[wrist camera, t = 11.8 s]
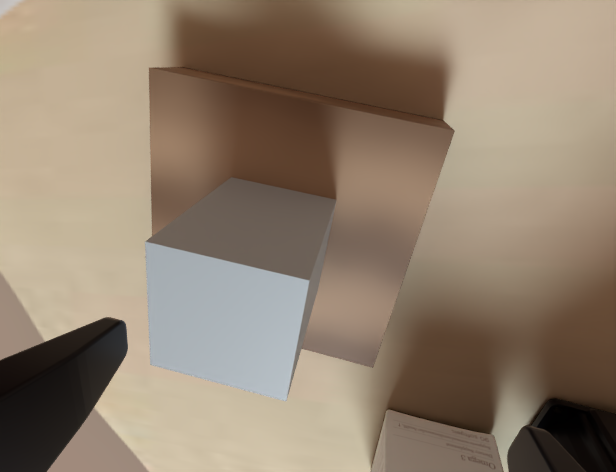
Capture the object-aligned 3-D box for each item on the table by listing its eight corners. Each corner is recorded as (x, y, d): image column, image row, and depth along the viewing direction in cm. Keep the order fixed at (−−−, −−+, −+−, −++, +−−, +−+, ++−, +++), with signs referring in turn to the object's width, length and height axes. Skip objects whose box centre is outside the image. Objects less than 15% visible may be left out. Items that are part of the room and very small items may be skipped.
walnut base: (374, 332, 23) (372, 367, 20) (178, 282, 24) (153, 309, 21) (443, 120, 17) (454, 130, 15) (182, 67, 18) (148, 67, 16)
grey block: (317, 290, 19) (286, 401, 13) (225, 267, 19) (150, 364, 13) (336, 199, 17) (309, 280, 10) (231, 177, 17) (144, 241, 11)
